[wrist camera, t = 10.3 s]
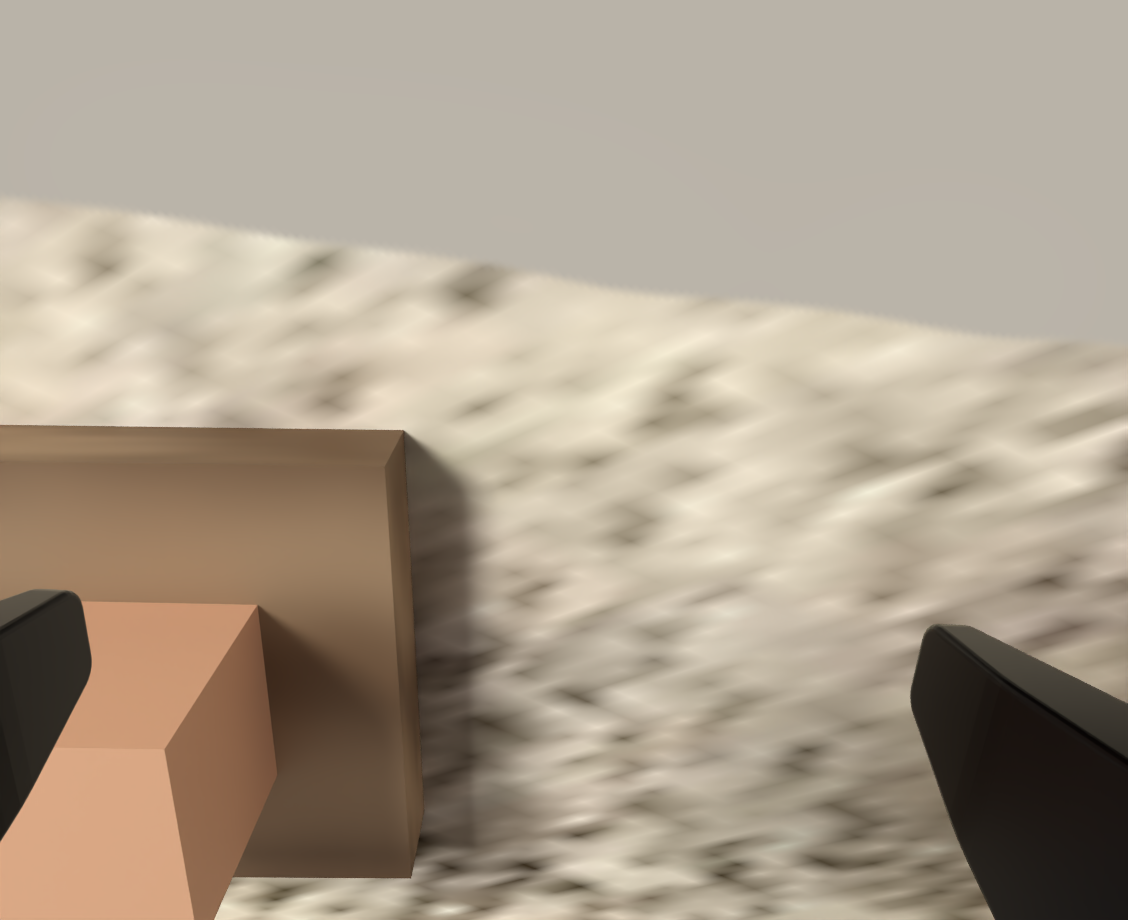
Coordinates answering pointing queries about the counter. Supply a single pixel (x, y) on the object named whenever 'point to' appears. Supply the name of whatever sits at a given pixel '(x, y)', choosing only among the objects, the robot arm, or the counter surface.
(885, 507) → the counter surface
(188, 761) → the cube
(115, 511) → the base slab
